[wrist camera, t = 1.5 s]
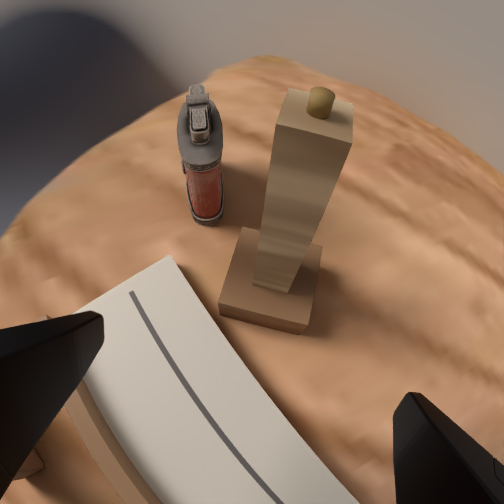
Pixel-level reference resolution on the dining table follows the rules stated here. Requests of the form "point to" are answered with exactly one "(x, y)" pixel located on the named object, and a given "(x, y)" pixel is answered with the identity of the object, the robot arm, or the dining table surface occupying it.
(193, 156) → the lighter
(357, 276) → the dining table surface
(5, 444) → the robot arm
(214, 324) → the board
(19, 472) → the brown wooden block structure
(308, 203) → the wooden post on base
